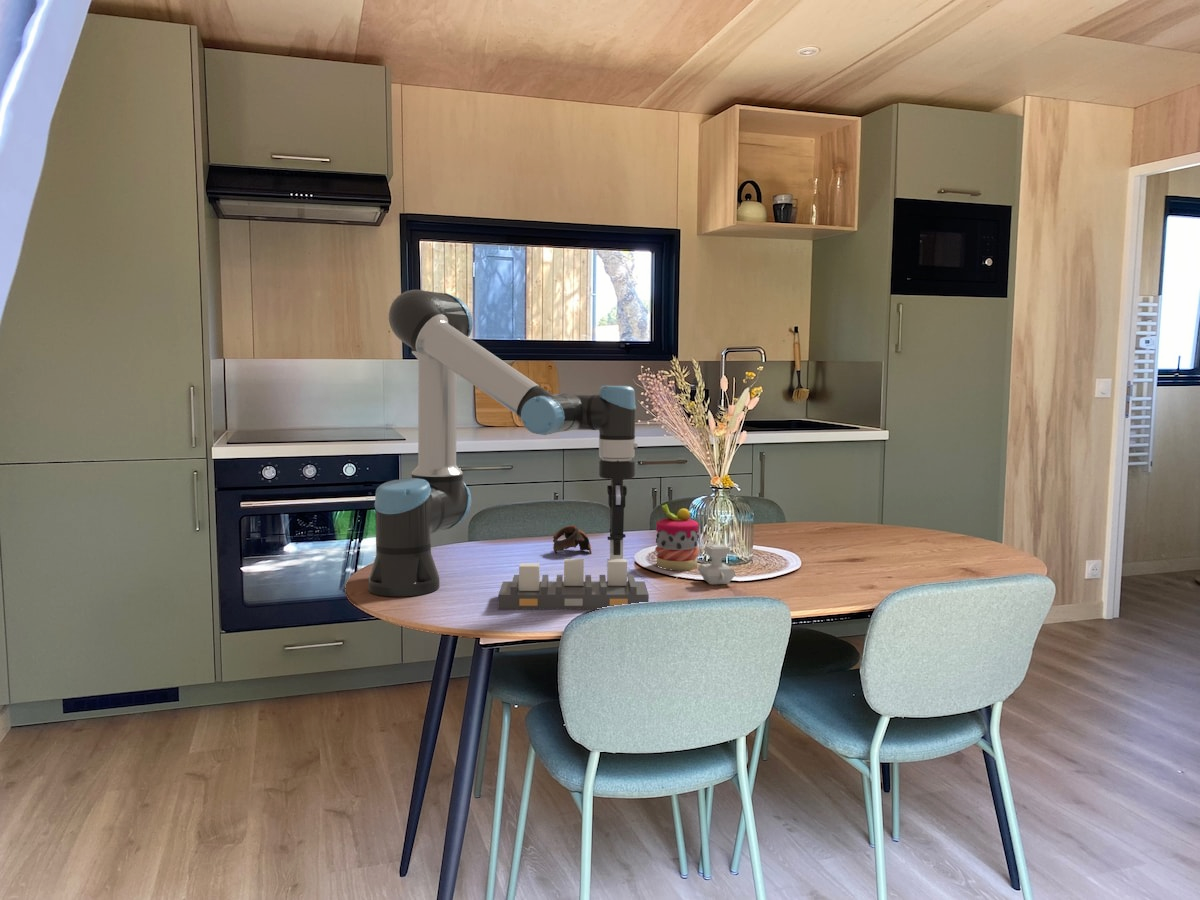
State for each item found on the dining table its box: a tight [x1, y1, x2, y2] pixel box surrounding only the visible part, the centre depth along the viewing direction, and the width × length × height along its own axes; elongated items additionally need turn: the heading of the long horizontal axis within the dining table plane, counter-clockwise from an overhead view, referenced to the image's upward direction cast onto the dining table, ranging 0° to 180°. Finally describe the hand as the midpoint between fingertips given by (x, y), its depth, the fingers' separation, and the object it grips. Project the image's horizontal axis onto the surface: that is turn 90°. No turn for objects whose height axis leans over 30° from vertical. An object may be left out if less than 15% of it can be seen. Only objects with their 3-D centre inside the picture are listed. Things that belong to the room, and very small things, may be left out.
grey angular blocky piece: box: [697, 544, 736, 586], centre depth 200 cm, size 9×7×8 cm
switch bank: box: [497, 574, 650, 610], centre depth 183 cm, size 30×11×4 cm, turn 91°
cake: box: [654, 503, 700, 571], centre depth 217 cm, size 10×11×15 cm
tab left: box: [518, 562, 541, 591], centre depth 181 cm, size 4×3×5 cm
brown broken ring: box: [552, 525, 593, 555], centre depth 233 cm, size 12×10×8 cm
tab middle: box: [563, 558, 585, 586], centre depth 185 cm, size 4×3×5 cm
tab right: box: [606, 558, 628, 586], centre depth 186 cm, size 4×3×5 cm
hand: (616, 568), depth 190 cm, fingers closed
